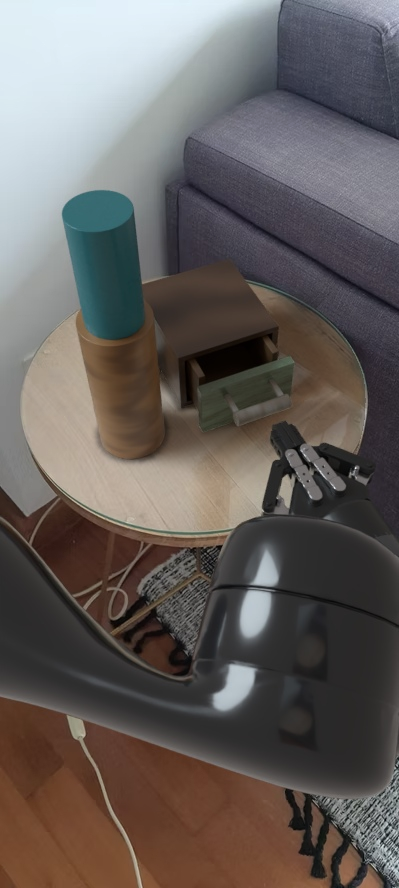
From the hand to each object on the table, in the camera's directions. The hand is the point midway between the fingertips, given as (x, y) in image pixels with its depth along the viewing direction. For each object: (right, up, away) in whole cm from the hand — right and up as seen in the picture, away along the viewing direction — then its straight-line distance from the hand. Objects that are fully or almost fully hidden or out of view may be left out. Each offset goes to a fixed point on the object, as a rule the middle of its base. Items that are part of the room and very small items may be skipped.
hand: (277, 427), depth 73 cm
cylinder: (-17, +11, -6) cm, 20 cm away
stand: (-16, 0, +9) cm, 18 cm away
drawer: (-4, +4, +11) cm, 13 cm away
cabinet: (-7, +10, +16) cm, 20 cm away
